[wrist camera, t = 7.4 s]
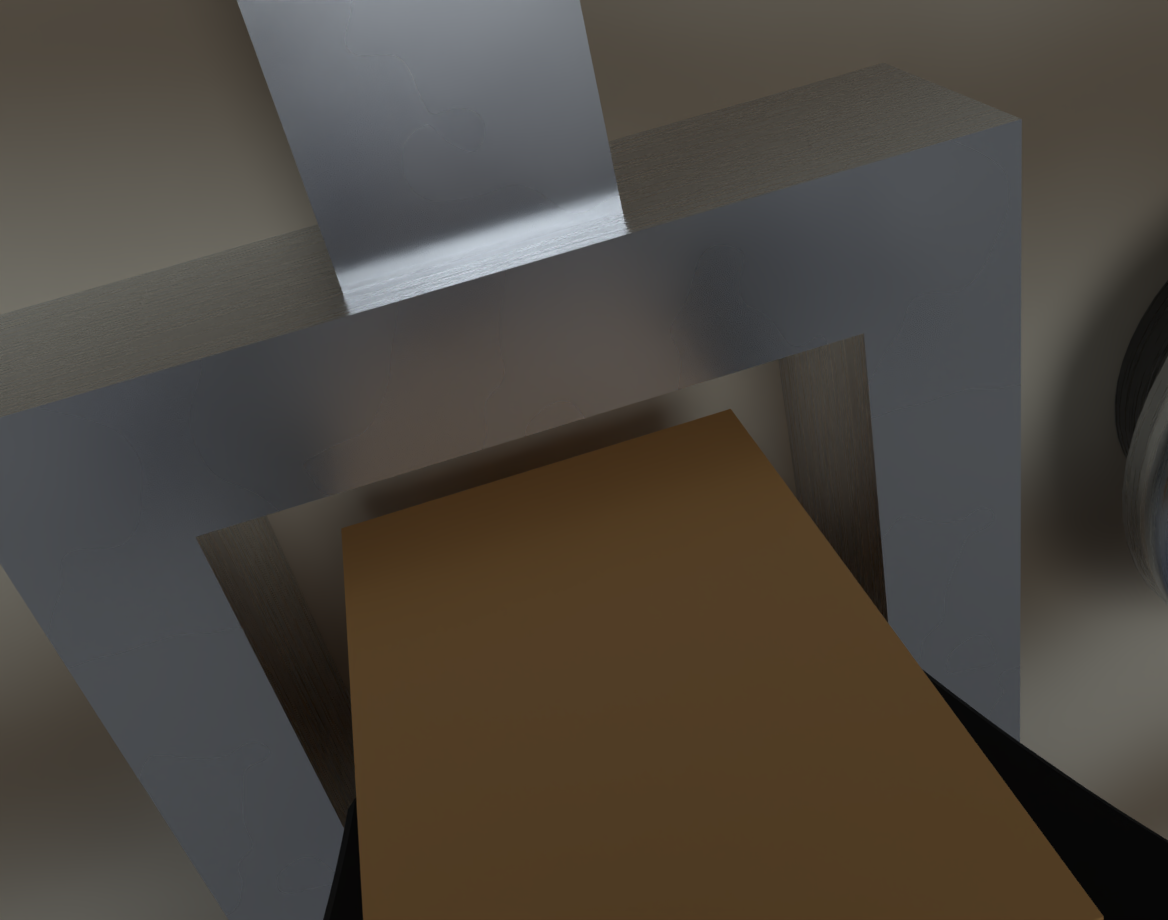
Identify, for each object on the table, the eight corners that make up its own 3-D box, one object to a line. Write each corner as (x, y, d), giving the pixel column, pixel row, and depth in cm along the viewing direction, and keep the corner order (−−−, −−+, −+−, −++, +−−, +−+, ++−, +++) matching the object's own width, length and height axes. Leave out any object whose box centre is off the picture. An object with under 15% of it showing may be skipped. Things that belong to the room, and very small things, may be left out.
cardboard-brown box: (786, 750, 14) (1076, 1302, 8) (477, 852, 13) (585, 1491, 8) (730, 407, 11) (1104, 916, 6) (341, 528, 11) (378, 1172, 6)
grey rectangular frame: (1417, 575, 17) (1739, 791, 13) (343, 936, 16) (356, 1292, 12) (1692, -505, 10) (2537, -705, 6) (-186, -18, 9) (-557, 101, 5)
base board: (1382, 726, 21) (1428, 765, 20) (-348, 1327, 18) (-380, 1401, 17) (1700, -508, 11) (1816, -536, 10) (-1869, 412, 9) (-2104, 478, 8)
